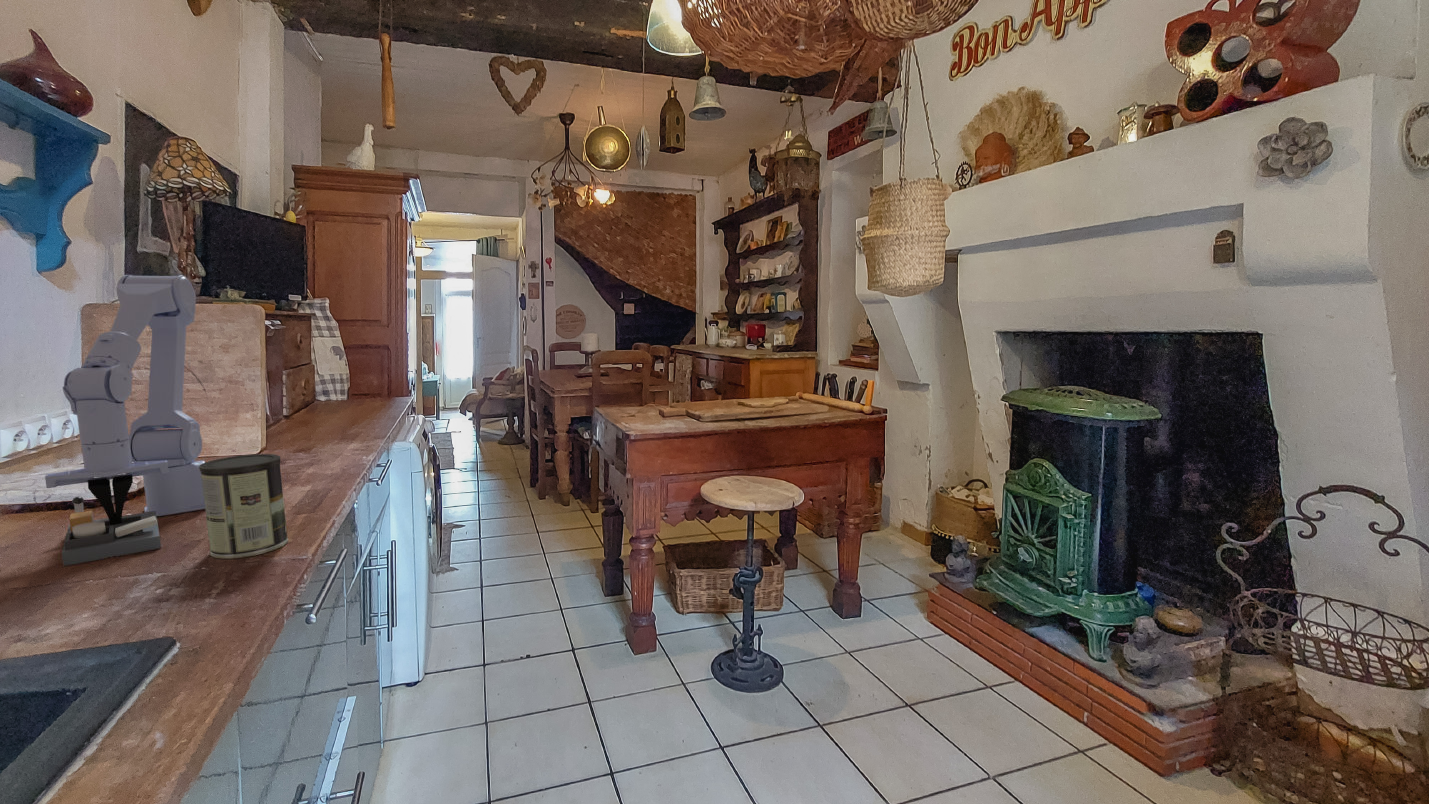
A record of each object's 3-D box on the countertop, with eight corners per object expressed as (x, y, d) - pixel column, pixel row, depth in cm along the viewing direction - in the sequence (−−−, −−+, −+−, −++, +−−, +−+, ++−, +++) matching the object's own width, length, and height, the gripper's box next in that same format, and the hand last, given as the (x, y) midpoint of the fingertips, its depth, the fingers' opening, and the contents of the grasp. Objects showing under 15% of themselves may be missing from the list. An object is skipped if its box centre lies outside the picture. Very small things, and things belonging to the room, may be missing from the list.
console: (156, 521, 116) (154, 503, 116) (161, 548, 103) (158, 527, 103) (70, 535, 109) (68, 516, 109) (63, 566, 96) (60, 544, 95)
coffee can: (258, 533, 110) (250, 451, 108) (303, 540, 107) (295, 456, 105) (192, 554, 100) (182, 465, 98) (239, 562, 97) (230, 470, 95)
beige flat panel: (156, 519, 107) (154, 515, 107) (157, 524, 105) (155, 519, 104) (117, 532, 104) (115, 528, 103) (117, 537, 101) (115, 532, 101)
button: (106, 529, 103) (104, 519, 103) (105, 534, 100) (104, 525, 100) (74, 534, 101) (73, 524, 100) (72, 540, 98) (71, 530, 98)
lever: (86, 518, 109) (83, 496, 109) (85, 517, 108) (83, 495, 108) (74, 520, 108) (72, 498, 108) (73, 519, 107) (71, 497, 107)
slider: (94, 528, 107) (92, 510, 106) (93, 534, 104) (91, 516, 103) (73, 531, 105) (70, 513, 105) (71, 537, 102) (69, 519, 102)
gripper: (38, 451, 97) (51, 538, 99) (165, 438, 107) (174, 518, 109) (43, 444, 102) (55, 527, 104) (163, 433, 112) (172, 509, 114)
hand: (116, 522), depth 107 cm, fingers closed
